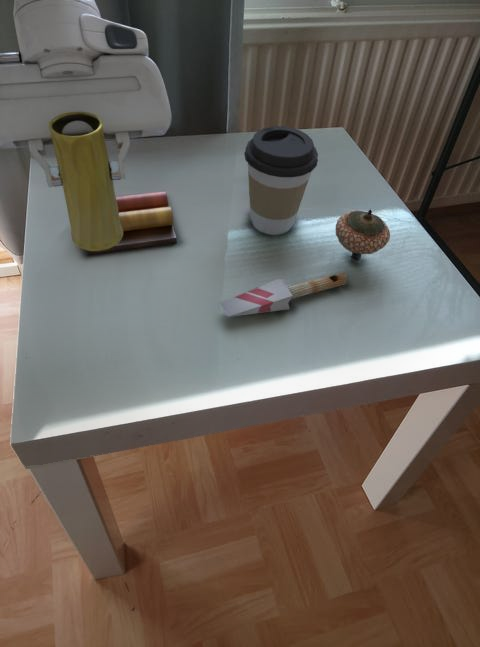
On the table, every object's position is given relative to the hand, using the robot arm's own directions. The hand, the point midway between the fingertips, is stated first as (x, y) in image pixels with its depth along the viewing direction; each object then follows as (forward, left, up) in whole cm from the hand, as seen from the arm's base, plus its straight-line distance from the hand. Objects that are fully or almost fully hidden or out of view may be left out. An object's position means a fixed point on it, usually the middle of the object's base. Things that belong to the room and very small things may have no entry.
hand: (88, 182), depth 55 cm
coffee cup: (+29, +15, -21) cm, 39 cm away
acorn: (+39, +3, -21) cm, 44 cm away
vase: (0, +1, -8) cm, 8 cm away
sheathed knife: (+25, -3, -21) cm, 33 cm away
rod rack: (+5, +19, -21) cm, 29 cm away
